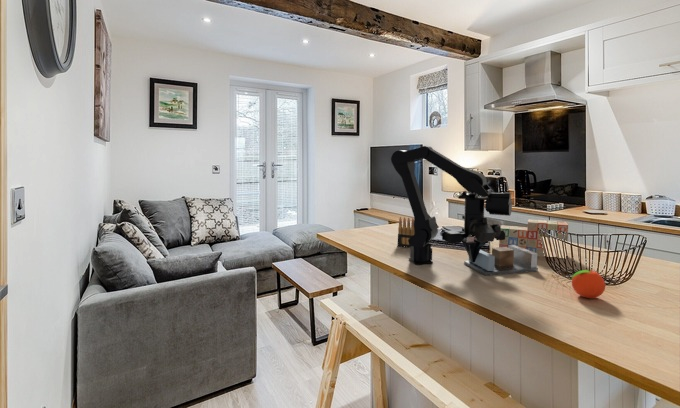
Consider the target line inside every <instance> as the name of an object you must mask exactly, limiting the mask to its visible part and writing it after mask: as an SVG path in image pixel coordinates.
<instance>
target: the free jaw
mask: <svg viewBox="0 0 680 408" xmlns="http://www.w3.org/2000/svg"><path fill="white" fill-rule="evenodd" d="M468 261H470V262H471V260H470V258H469V257H468ZM472 263H474V264H476V265H478V266H480V267H482V268H484V269H485V270H487V271H494V264H495V256H493V255H492V253H489V252H486V251H484V250H482V249H480V251H479V254H478V256H477V258H476V260H475V262H472Z"/></svg>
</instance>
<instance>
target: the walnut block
mask: <svg viewBox="0 0 680 408" xmlns="http://www.w3.org/2000/svg"><path fill="white" fill-rule="evenodd" d="M491 255H493V256H495V265H497V266H511V265H513V261H514V250H512V249H510V248H507V247H492V249H491Z"/></svg>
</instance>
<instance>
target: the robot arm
mask: <svg viewBox="0 0 680 408" xmlns="http://www.w3.org/2000/svg"><path fill="white" fill-rule="evenodd" d="M422 160H424V161H425V160H426V161H427V162H429V163H431V164H432V165H433V166H435V167H437V168H439V169H440V170H441V171H443V172H444V173H446V174H448V175H450V176H451V177H453V178H454V180H455V181H456V182H457V183H458V184H459V185H460V186H461V187H462V188H464V191H462V192H461V194H459V195H458V196H457V198H458V199H460V200H464V214H463V215H462V216H461V217H462V218H461V219H463V221H464V222H463V223H464V225H463V227H462V228H461V231H462V232H459V231H456V230H454V229H453V230H444V231H443V233H442V234H441V237H442V238H441V239H442V240H443V241H445V242H447V243H449V244H461V243H462V245H463V246H464V248H465V251H466V253H467V255H468V259H469V258H470V260H471V262H475V260H476V258H477V256H478V254H479V251H480V250H482V247H483V246H484V245H486V244H489V242H491V243H492V242H494V241H495V240H496V241H499V240H505V237H506V234H505V232H504V231H503V230H501V225H500V224H499V223H493V224H488V219H487V216H486V217H485V211H486V212H487V213H488V214H489V215H491V216H493V215H495V216H509V217H510V216H511V215H512V209H513V202H512V197H511V194H512V193H511V192H494V191H493V189H491V187H490V186H489V184H488V182H487V181H488V180H487V177H486V176H485V174H483V173H481V172H478V171H476V170H474V169H470V168H467V167H464V166H461V165H460V164H459V163H457V162H455V161H453V160H451V159H450V158H448V157H447V156H445V155H444V154H443V153H440V152H438V151H437V150H435V149H433V147H431V146H428V145H422V146H420V147H418V148H414V149H410V150H404V149H403V150H402V149H399V150H396V151H394V152H393V153H392V155H391V157H390V162H391V164H392V167H393V168H394V170H395V171H396V173H397V174H398V175H399V176H400V178H401V180H402V183H403V187H404V189H405V193H406V196H407V199H408V202H409V206H410V208H411V211H412V214H413V219H414V232H415V234H414V235H413V236H412V237H411V238H410V239H409V240H408V242H409V245H410V248H409V249H410V256H409V257H408V260H409V261H410V262H411V263H412V264H413V265H426V264H433V263H434V261H433V248H432V244H431V243H432V242H433V239H434V238H436V237H437V235H438V232H439V231H438V229H439V225H438V224H437V220H436V219H437V218H436V215H435V216H432V217H431V216H430V214H429V213H428V211H427V208H426V204H425V202H424V199H423V196H422V193H421V189H420V187H419V183H418V180H417V177H416V174H415V171H416V162H419V161H422Z"/></svg>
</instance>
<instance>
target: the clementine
mask: <svg viewBox="0 0 680 408" xmlns="http://www.w3.org/2000/svg"><path fill="white" fill-rule="evenodd" d="M570 281H571V285H572V288H573V290H574V291H575V292H576V294H578V295H579V296H580V297H583V298H587V299H595V298H599V297H600V296H602V294H603V293H604V292H605V290H606V281H605V279H604V278H603V277H602V276H601V274H599V273H598V272H597V271H594V270H591V269H583V270H582V269H581V270H578V271H577V272H575V273H574V274H573V275H572V276H571V278H570Z"/></svg>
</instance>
